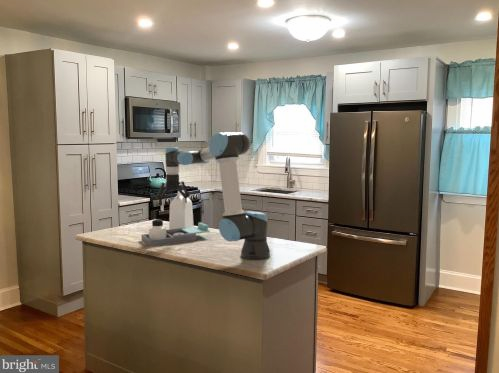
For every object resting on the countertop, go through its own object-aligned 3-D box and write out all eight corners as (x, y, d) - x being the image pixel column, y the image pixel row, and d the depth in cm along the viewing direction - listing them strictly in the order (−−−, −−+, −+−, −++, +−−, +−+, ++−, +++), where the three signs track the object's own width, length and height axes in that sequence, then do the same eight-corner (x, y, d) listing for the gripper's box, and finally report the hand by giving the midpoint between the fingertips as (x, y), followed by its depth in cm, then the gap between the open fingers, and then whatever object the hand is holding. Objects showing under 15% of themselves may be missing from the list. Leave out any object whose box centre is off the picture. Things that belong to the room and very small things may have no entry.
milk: (185, 233, 285) (184, 192, 281) (169, 232, 289) (168, 191, 285) (193, 229, 296) (193, 190, 293) (177, 228, 300) (177, 189, 296)
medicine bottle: (166, 239, 265) (166, 219, 263) (158, 242, 259) (158, 221, 257) (157, 237, 268) (156, 218, 267) (148, 240, 262) (148, 220, 261)
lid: (209, 231, 273) (209, 225, 273) (189, 234, 267) (189, 228, 266) (201, 227, 284) (201, 221, 283) (181, 230, 277) (181, 224, 277)
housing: (196, 240, 267) (196, 232, 267) (150, 246, 253) (150, 238, 253) (185, 235, 281) (185, 227, 280) (141, 240, 267) (141, 232, 266)
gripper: (189, 172, 273) (190, 207, 276) (149, 174, 260) (150, 210, 262) (194, 173, 267) (195, 208, 269) (154, 175, 254) (155, 212, 256)
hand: (173, 209), depth 266 cm, fingers open, 13 cm apart
